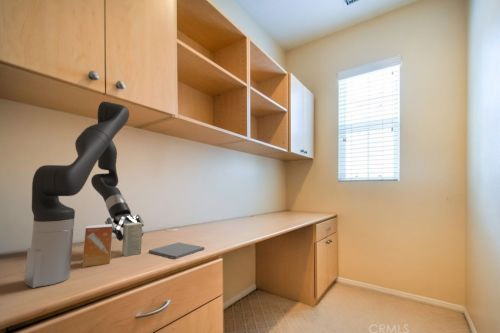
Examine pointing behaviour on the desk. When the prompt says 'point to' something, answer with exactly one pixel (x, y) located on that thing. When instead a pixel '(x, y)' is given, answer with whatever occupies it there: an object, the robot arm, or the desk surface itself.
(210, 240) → the desk surface
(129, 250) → the skincare box
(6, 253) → the desk surface
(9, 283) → the desk surface
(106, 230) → the small box
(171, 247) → the rubber mat
